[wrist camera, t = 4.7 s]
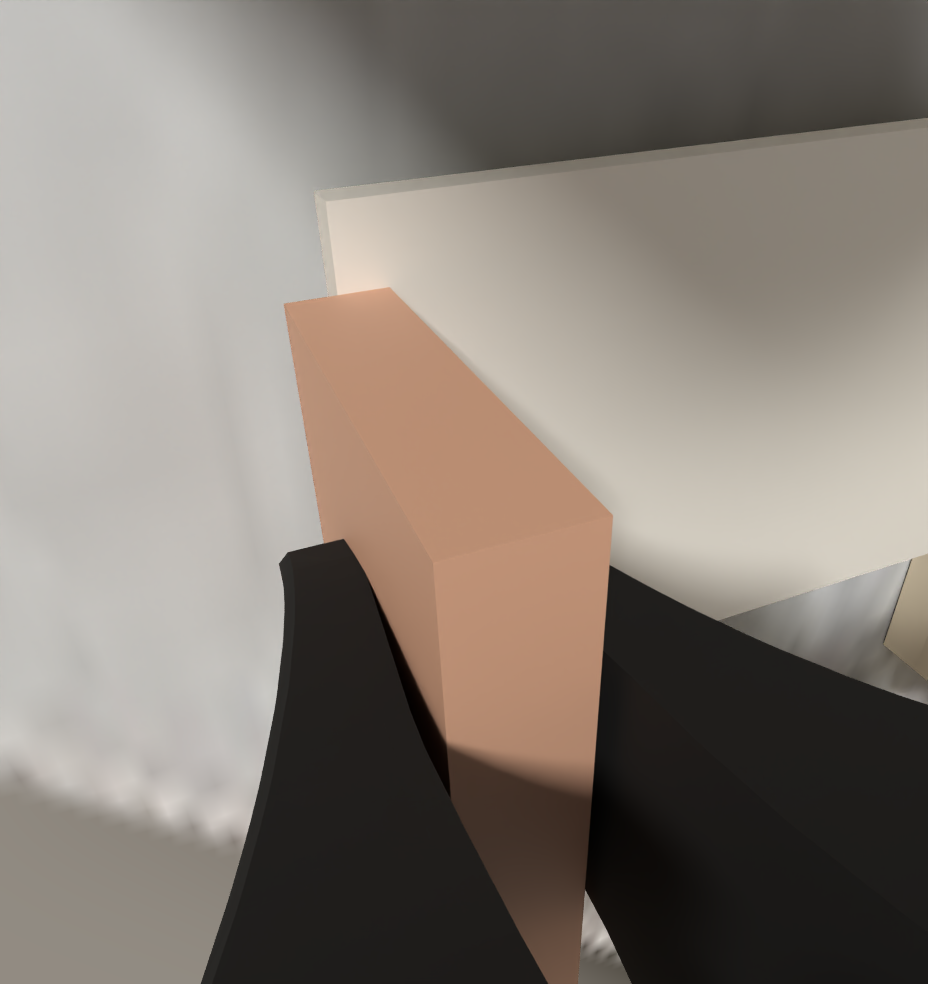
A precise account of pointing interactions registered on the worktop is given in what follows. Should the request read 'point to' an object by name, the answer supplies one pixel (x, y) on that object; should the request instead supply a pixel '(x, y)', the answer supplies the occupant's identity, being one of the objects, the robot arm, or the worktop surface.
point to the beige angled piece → (608, 434)
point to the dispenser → (912, 619)
